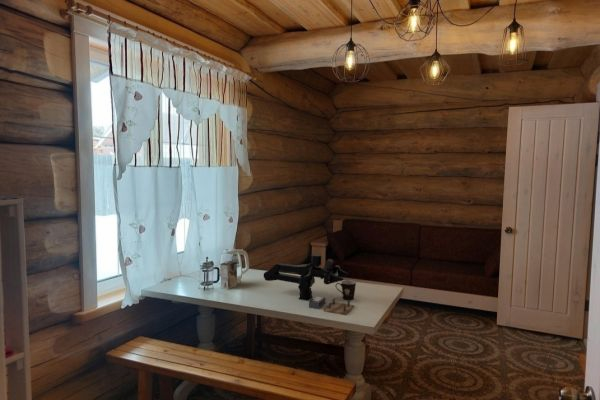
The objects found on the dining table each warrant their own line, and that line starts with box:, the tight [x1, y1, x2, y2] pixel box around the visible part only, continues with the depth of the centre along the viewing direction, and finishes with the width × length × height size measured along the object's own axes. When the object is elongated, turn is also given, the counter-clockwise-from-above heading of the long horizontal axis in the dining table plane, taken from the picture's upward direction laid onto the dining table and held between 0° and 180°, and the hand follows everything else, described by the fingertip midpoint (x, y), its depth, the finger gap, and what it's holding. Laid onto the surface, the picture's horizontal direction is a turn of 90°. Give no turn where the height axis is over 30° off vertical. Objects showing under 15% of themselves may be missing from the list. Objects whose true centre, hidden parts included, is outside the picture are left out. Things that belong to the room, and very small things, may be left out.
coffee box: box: [219, 260, 238, 290], centre depth 264 cm, size 9×6×16 cm
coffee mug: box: [335, 279, 357, 301], centre depth 243 cm, size 12×9×10 cm
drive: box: [308, 295, 327, 310], centre depth 231 cm, size 6×10×4 cm, turn 154°
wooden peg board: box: [323, 298, 355, 316], centre depth 225 cm, size 13×14×4 cm
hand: (346, 276), depth 230 cm, fingers open, 9 cm apart
